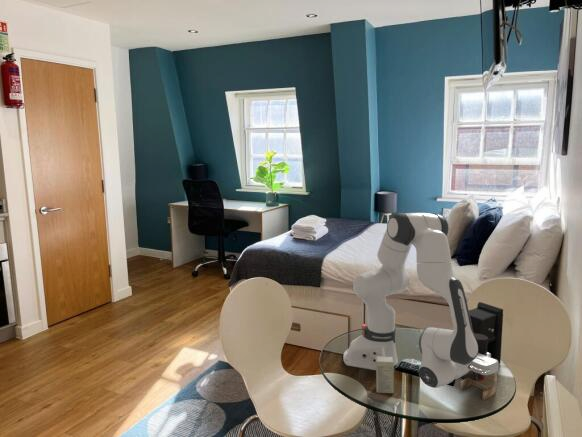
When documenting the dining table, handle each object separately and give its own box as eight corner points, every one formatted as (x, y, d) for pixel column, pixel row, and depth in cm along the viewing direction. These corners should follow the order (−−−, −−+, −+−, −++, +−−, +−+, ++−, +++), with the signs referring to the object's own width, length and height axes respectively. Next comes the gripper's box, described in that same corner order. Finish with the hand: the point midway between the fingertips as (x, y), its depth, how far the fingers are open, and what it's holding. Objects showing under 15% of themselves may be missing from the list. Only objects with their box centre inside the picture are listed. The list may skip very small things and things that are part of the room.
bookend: (464, 381, 167) (467, 322, 163) (440, 369, 176) (443, 313, 172) (501, 364, 179) (504, 309, 175) (477, 354, 188) (480, 301, 184)
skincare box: (393, 387, 163) (393, 356, 161) (393, 394, 159) (394, 362, 157) (375, 386, 164) (375, 355, 162) (375, 392, 160) (376, 360, 158)
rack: (484, 400, 154) (486, 368, 152) (460, 389, 161) (462, 358, 159) (495, 393, 158) (497, 361, 156) (471, 382, 165) (473, 352, 163)
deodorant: (471, 371, 161) (474, 332, 159) (487, 377, 157) (490, 337, 155) (463, 376, 157) (466, 336, 155) (480, 382, 153) (483, 341, 151)
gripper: (486, 365, 140) (508, 352, 148) (431, 343, 156) (454, 333, 164) (485, 383, 140) (507, 370, 149) (430, 360, 157) (453, 349, 165)
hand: (478, 351), depth 156 cm, fingers closed on deodorant, 6 cm apart
